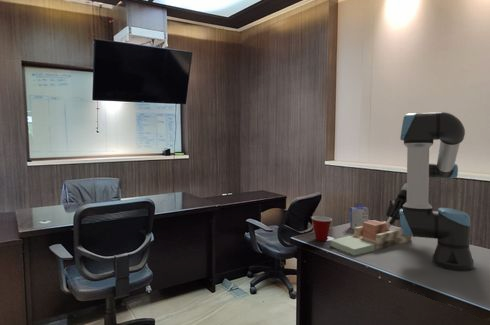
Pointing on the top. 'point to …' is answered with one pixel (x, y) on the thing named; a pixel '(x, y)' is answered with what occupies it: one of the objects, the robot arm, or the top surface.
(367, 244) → the pad
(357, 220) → the ink cartridge box
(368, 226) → the block
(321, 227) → the plastic cup
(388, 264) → the top surface
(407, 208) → the robot arm
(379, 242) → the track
